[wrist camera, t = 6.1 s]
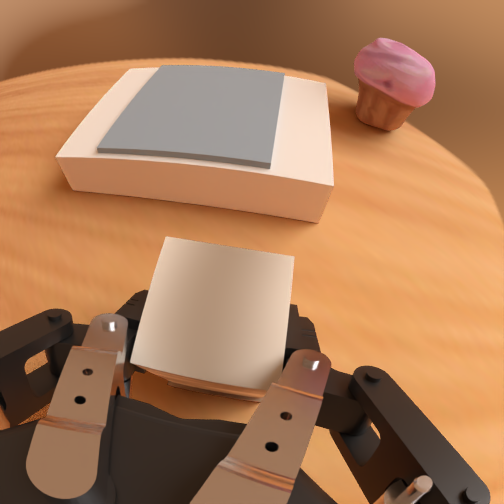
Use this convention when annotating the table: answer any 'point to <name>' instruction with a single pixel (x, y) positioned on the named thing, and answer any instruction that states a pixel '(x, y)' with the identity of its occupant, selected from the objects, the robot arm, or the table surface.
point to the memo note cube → (216, 319)
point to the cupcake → (391, 83)
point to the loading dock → (208, 141)
